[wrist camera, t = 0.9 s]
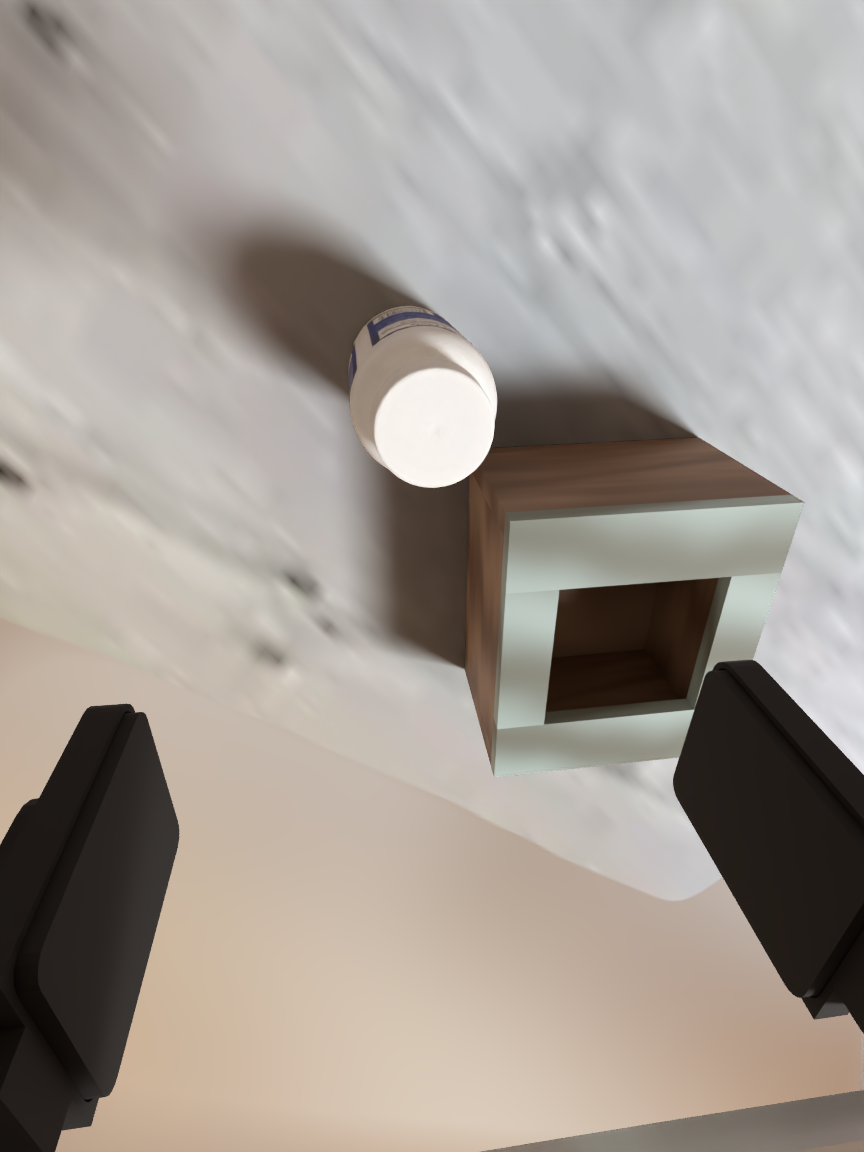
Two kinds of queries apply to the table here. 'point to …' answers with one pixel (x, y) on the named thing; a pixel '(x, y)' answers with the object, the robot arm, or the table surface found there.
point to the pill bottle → (421, 397)
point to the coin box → (612, 594)
